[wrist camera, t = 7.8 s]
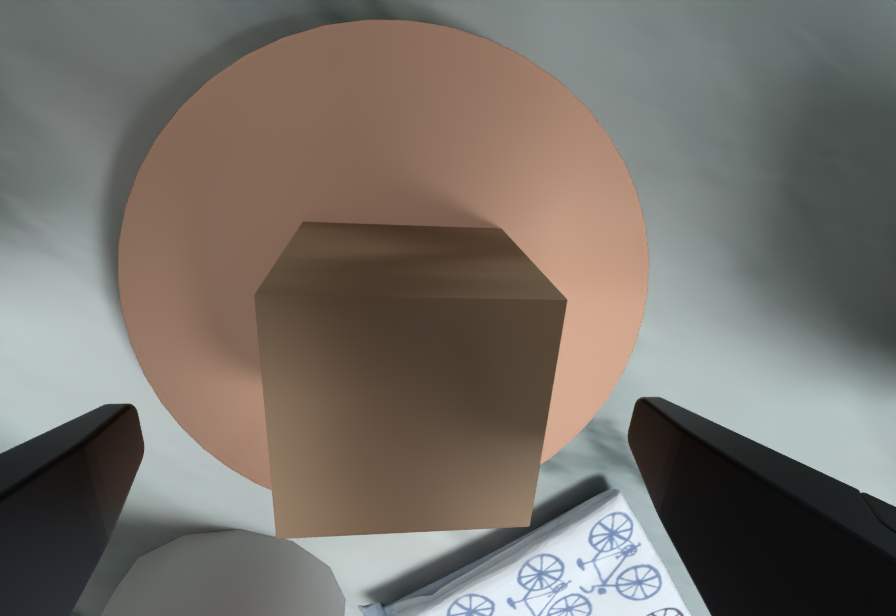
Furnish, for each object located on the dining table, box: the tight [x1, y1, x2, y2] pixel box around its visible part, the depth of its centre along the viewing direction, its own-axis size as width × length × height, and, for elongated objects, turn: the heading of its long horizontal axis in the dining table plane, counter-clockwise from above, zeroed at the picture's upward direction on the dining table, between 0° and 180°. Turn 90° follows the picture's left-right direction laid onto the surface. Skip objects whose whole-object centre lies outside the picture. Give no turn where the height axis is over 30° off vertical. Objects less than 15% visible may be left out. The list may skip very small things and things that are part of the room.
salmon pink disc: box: [118, 20, 649, 490], centre depth 14 cm, size 14×14×1 cm
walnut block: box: [254, 222, 568, 539], centre depth 11 cm, size 5×5×5 cm
